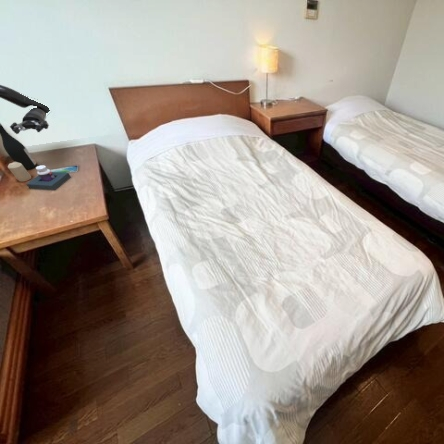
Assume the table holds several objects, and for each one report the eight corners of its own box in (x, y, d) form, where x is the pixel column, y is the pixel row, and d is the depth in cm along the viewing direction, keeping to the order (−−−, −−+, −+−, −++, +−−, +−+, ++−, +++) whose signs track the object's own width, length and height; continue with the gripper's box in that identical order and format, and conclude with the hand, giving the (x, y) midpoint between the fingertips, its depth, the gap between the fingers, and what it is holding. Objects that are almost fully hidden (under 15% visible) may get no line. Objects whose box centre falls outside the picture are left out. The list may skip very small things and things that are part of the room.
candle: (26, 175, 139) (13, 159, 132) (34, 177, 138) (22, 161, 131) (15, 180, 135) (2, 164, 128) (24, 182, 134) (11, 166, 127)
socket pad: (29, 188, 131) (25, 184, 129) (47, 175, 140) (44, 171, 138) (55, 190, 132) (51, 185, 130) (71, 177, 141) (68, 172, 139)
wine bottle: (32, 162, 149) (-5, 111, 128) (41, 166, 147) (4, 114, 126) (16, 168, 143) (-25, 115, 123) (25, 172, 141) (-16, 119, 121)
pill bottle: (58, 183, 136) (48, 167, 130) (46, 186, 133) (34, 170, 127) (56, 178, 139) (45, 163, 132) (44, 182, 136) (32, 166, 129)
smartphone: (46, 170, 143) (77, 165, 150) (47, 171, 144) (78, 166, 150) (44, 176, 139) (77, 170, 145) (45, 177, 139) (78, 172, 146)
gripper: (12, 113, 132) (3, 125, 121) (46, 111, 137) (40, 122, 127) (22, 127, 137) (13, 139, 126) (54, 125, 142) (48, 136, 132)
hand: (26, 131), depth 127 cm, fingers open, 8 cm apart
